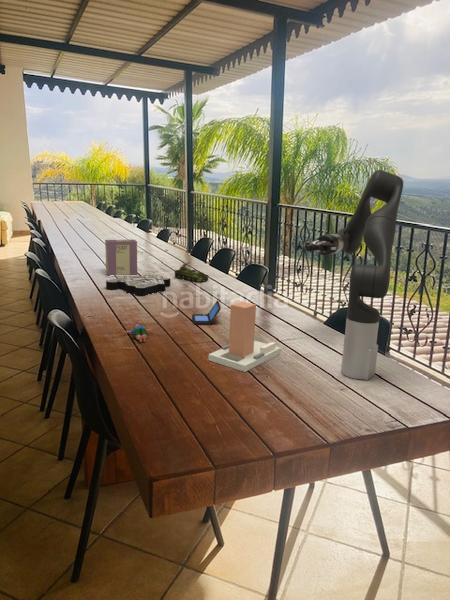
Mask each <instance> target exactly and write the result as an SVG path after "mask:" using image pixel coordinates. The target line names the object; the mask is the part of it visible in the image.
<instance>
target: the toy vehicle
mask: <svg viewBox="0 0 450 600" xmlns="http://www.w3.org/2000/svg"><path fill="white" fill-rule="evenodd" d="M190 263H191V262H187V263H184V264H182V266H180V267H179V269H175V270H174V278H176V279H177V280H182V279H184V280H183V281H188V282H192V283H197V282H199V283H201V282H205V281H206V282H207V281H209V276H210V275H208V274H205V273H204V272H202V271H199V270H196V269H192V268H188V267H187V265H188V264H190ZM186 279H187V280H186Z"/></svg>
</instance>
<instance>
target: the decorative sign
mask: <svg viewBox="0 0 450 600" xmlns="http://www.w3.org/2000/svg"><path fill="white" fill-rule="evenodd" d="M169 286H170V287H171V278H164V277H163V276H162V275H157V274H152V275H151V274H144V275H137V276H123V277H118V278H112V279H107V280H106V281H105V289H106V290H107V291H118V290H121V289H122V290H121V291H123V292H125V291H126V292H125V293H126V294H128V293H130V294H129V295H134V294H135V295H134V296H135V297H146V295H147V296H149V295H148V294H150V295H153V294H152V293H154V294H157V292H158V293H165V292H166V288H170V287H169ZM117 289H118V290H117ZM159 291H160V292H159ZM164 291H165V292H164Z"/></svg>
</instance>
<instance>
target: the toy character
mask: <svg viewBox="0 0 450 600" xmlns="http://www.w3.org/2000/svg"><path fill="white" fill-rule="evenodd" d="M148 332H156V329H153V328H151V329H148V328H145V326H143V325H140V323H139V322H138V321H137V322H135V323H134V325H133V329H131V330H123V331H121V332H120V333H121V335H123V334H132V335H133V338H134V339H136V340H138V341H139V342H140V343H146V341H147V337H148V334H149V333H148Z"/></svg>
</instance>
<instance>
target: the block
mask: <svg viewBox="0 0 450 600" xmlns="http://www.w3.org/2000/svg"><path fill="white" fill-rule="evenodd" d="M229 313H230V314H229V315H230V316H229V334H228V335H229V337H228V341H229V342H228V344H229V354H233V355H236V356H239V357H242V358H243V357H245V356H247V355H249V354H251V353H254V341H255V332H256V317H257V316H256V315H257V304H255V303H251V302H247V301H238V302H236V303H233V304H230V312H229Z"/></svg>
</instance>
